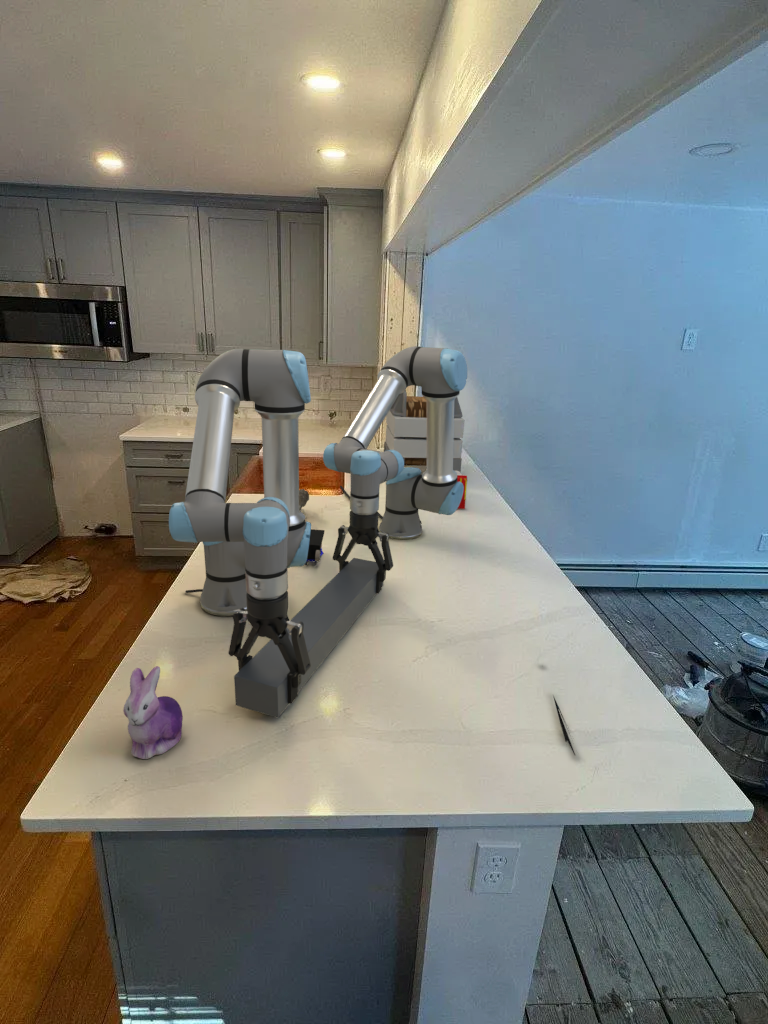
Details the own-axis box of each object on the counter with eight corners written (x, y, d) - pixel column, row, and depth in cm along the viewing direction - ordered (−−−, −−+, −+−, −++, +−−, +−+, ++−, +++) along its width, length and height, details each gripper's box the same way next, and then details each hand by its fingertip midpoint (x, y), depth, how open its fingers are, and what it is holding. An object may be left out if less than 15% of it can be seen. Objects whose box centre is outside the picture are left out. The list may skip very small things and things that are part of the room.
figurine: (131, 770, 95) (121, 695, 90) (126, 731, 103) (116, 661, 98) (190, 752, 99) (183, 680, 94) (180, 716, 108) (173, 648, 102)
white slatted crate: (382, 463, 289) (386, 382, 275) (445, 464, 293) (451, 384, 279) (390, 482, 257) (394, 392, 243) (460, 483, 261) (468, 394, 247)
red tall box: (459, 466, 252) (471, 476, 223) (457, 496, 255) (469, 509, 225) (432, 466, 252) (440, 475, 222) (430, 495, 254) (438, 509, 225)
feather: (542, 671, 128) (548, 665, 128) (575, 760, 102) (582, 753, 101) (536, 667, 128) (542, 661, 128) (567, 755, 102) (574, 748, 101)
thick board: (353, 579, 161) (353, 557, 159) (383, 585, 158) (384, 563, 156) (235, 705, 109) (233, 675, 106) (278, 718, 106) (277, 687, 103)
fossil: (278, 495, 221) (307, 474, 216) (294, 513, 224) (323, 493, 219) (262, 520, 201) (293, 498, 196) (280, 540, 204) (311, 518, 199)
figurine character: (321, 573, 171) (325, 548, 184) (321, 551, 168) (325, 527, 181) (299, 572, 171) (304, 547, 184) (298, 550, 167) (304, 526, 181)
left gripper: (203, 588, 104) (211, 690, 111) (312, 613, 97) (312, 719, 105) (227, 572, 110) (232, 669, 118) (330, 593, 104) (329, 695, 112)
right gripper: (319, 508, 147) (319, 586, 155) (399, 521, 141) (395, 601, 148) (331, 500, 154) (330, 574, 162) (408, 512, 147) (404, 589, 155)
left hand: (270, 693), depth 111 cm, fingers closed on thick board, 9 cm apart
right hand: (361, 587), depth 155 cm, fingers closed on thick board, 9 cm apart
